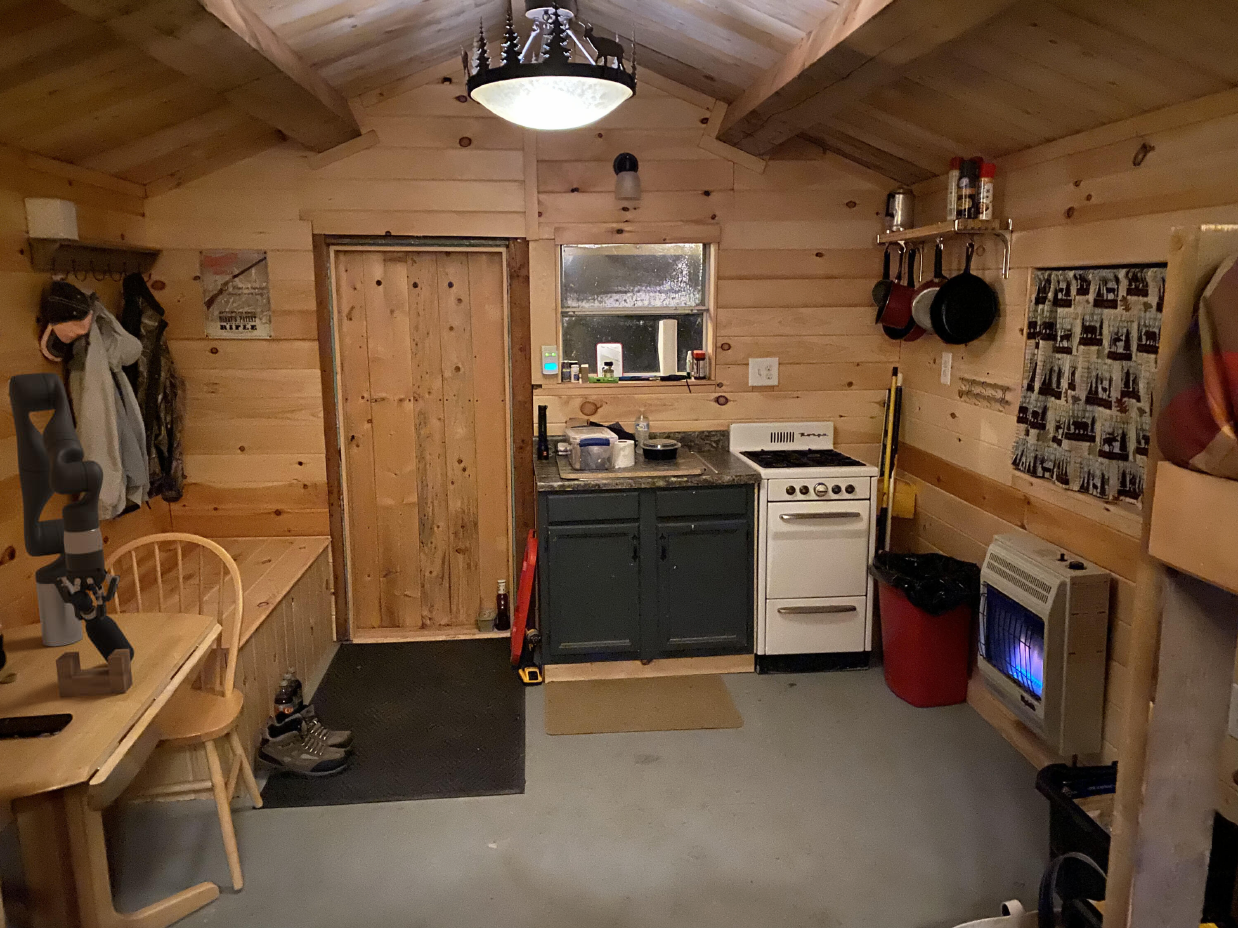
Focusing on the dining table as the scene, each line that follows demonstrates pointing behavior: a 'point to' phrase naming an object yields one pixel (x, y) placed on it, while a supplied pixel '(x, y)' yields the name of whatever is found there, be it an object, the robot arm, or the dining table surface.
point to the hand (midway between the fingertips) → (91, 618)
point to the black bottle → (100, 627)
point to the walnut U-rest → (94, 675)
